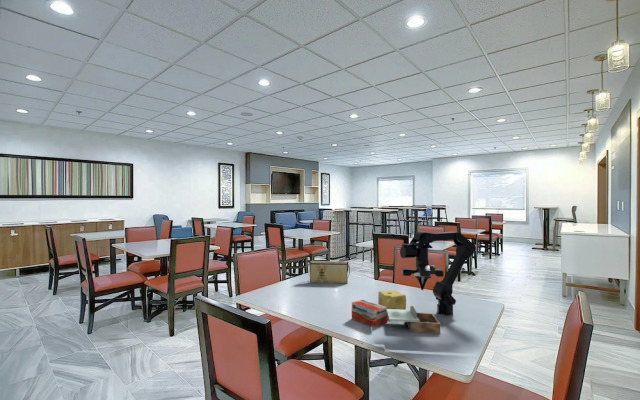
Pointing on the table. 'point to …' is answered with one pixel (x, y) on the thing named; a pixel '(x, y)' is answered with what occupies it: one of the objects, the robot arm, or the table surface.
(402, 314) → the lid
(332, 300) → the table surface
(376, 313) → the medicine box
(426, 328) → the walnut box
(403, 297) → the cheese
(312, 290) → the table surface
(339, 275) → the clutch purse
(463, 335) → the table surface
